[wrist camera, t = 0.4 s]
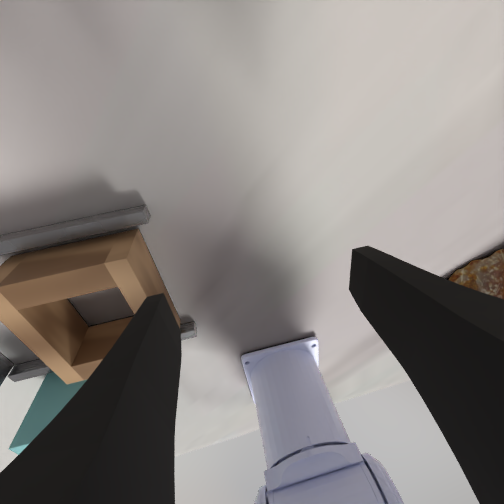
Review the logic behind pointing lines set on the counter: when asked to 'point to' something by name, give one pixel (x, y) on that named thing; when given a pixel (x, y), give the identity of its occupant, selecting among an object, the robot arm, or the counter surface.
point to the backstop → (64, 233)
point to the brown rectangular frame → (71, 285)
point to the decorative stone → (483, 275)
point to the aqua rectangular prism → (44, 409)
